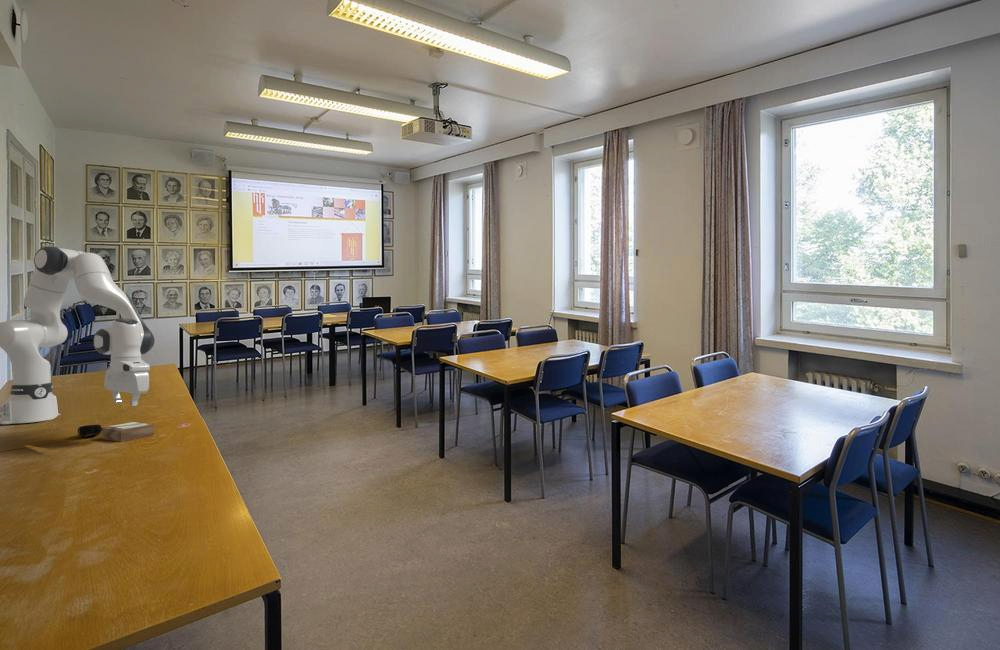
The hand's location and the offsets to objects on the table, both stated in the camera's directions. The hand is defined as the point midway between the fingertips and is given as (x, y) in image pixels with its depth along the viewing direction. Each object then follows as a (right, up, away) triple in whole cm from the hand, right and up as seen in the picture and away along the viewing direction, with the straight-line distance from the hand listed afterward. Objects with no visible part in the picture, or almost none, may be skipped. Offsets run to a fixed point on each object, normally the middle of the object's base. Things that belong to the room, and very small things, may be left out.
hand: (125, 404), depth 187 cm
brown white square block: (+1, -12, 0) cm, 12 cm away
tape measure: (-10, -11, +1) cm, 15 cm away
